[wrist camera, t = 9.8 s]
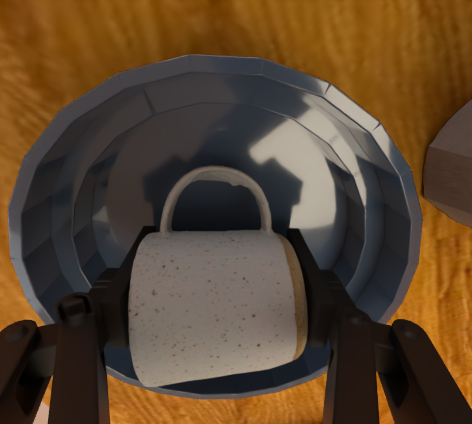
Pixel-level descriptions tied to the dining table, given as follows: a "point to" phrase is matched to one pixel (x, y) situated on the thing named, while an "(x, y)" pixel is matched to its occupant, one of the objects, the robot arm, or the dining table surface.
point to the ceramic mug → (214, 296)
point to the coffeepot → (451, 168)
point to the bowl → (215, 190)
